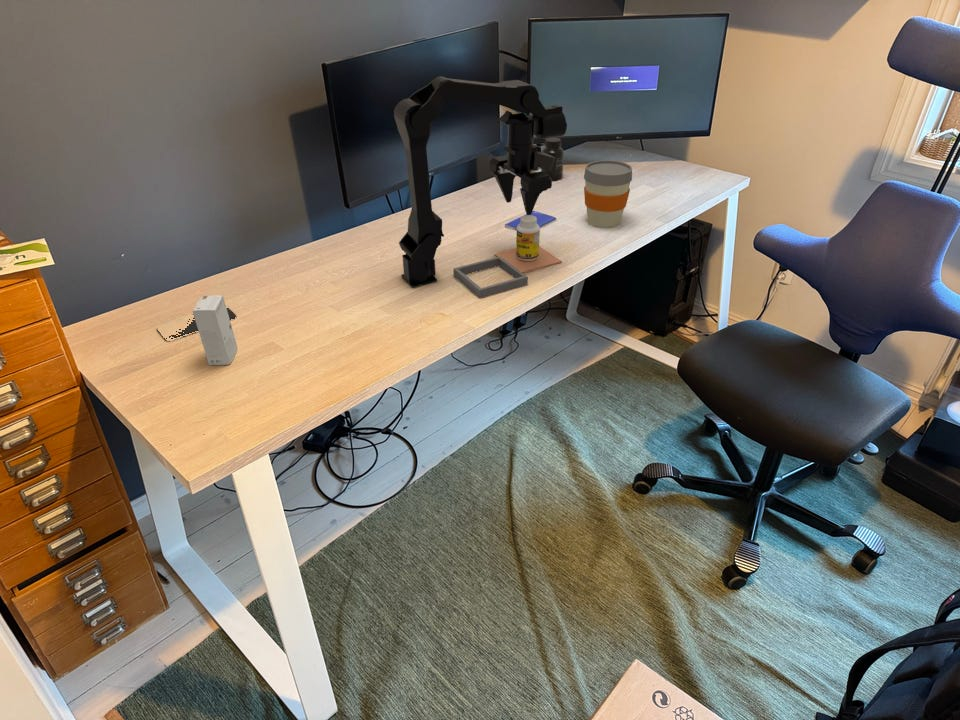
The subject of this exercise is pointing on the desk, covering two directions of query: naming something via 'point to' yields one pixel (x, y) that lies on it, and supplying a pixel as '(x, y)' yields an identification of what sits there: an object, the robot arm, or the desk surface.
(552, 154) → the supplement bottle
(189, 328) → the dark flat slab
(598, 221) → the reusable coffee cup
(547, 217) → the hard drive
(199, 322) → the skincare box
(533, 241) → the supplement bottle
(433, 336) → the desk surface
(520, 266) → the pad
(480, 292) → the square frame
